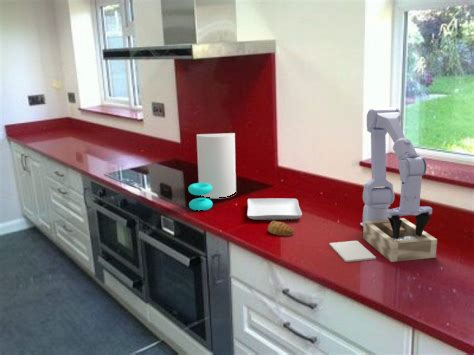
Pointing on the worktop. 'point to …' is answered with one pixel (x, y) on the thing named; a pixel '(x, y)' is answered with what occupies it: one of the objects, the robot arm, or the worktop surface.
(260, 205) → the salad plate
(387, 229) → the walnut bar
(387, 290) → the worktop surface
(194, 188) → the donuts
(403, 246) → the pocket board
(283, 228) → the pastry
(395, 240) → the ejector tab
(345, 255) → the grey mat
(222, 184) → the cylinder
